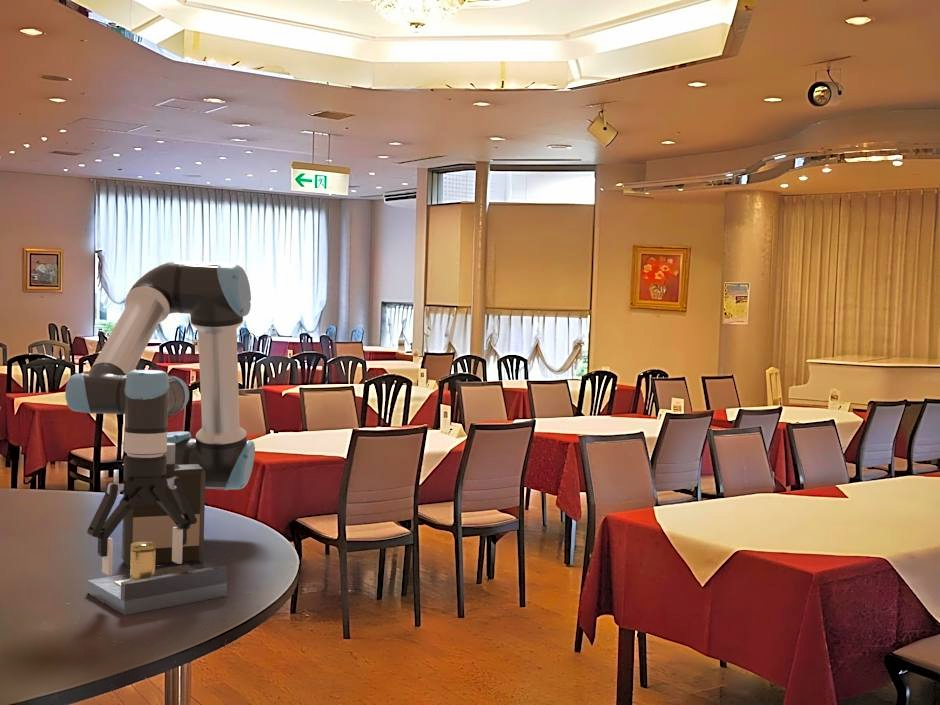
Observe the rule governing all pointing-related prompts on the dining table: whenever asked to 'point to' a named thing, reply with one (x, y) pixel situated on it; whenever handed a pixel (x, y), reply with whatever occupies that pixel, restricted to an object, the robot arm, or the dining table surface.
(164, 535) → the brown box
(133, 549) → the gold cylinder
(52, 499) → the dining table surface
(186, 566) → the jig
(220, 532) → the dining table surface
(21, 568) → the dining table surface
